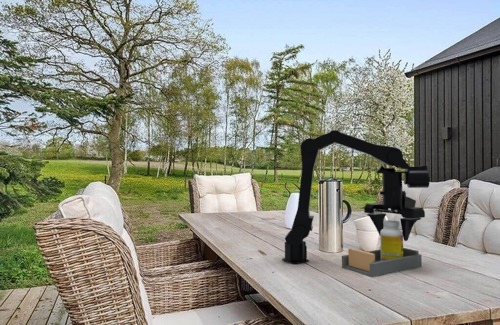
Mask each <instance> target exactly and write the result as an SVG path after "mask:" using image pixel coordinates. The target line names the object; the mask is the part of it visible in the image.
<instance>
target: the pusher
mask: <svg viewBox="0 0 500 325" xmlns="http://www.w3.org/2000/svg"><path fill="white" fill-rule="evenodd" d="M347 253H348V254H347V255H348V257H349V266H352V267H356V268H359V269H362V270H366V271H369V272H370V263H374V262H375V254H373V253H369V252H367V251H364V250H360V249H356V248H352V247H350V248H348V252H347Z"/></svg>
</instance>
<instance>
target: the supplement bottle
mask: <svg viewBox="0 0 500 325" xmlns="http://www.w3.org/2000/svg"><path fill="white" fill-rule="evenodd" d="M383 225H384V229H382V230H381V232H380V235H379V238H380V239H379V240H380V241H379V242H380V245H379V246H380V253H381V261H385V260H390V259H396V258H401V257H403V248H404V238H403V233H402V229H400V227H401V223H400V220H399V221H397V220H390V219H389V220H384V221H383Z"/></svg>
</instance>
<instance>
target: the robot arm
mask: <svg viewBox="0 0 500 325" xmlns="http://www.w3.org/2000/svg"><path fill="white" fill-rule="evenodd" d="M333 144H336V145H340V146H343V147H345V148H348V149H351V150H354V151H357V152H359V153H362V154H366V155H368V156H370V157H372V158H373V159H375V160H377V161H378V162H380V163H382V164H384V165H386V166H388V167H384V165H381V166H379V168H378V169H377V170H376V171H375V173H376V174H382V191H381V190H380V191H379V195H380V196H381V195H382V203H377V202H376V203H374V202H373V203H366V204H365V206H364V207H363V208H364V211H363V212H364V213H365V214H366V215H367V216H368V217H369V218H370V220H371V221H372V223H373V225H374V227H375V229H376V231H377V233H378V234H379V236H380V232H381V230H382V229H384V225H383V221H385V217H386V216H387V213H388V214H395V215H400V216H401V217H402V218H399V219H400V220H399V221H400V227H401V231H402V233H403V242H407V241H409V238H410V235H411V232H412V230H413V227H414V225H415V223H416V222H418V221H420V220H421V219H422V218H425V217H426V214H425V209H424V208H423V207H417V206H416V202H417V200H416V199H413V198H411V197H409V196H407V192H406V191H405V190H403V184H404V185H405V186H407V188H408V189H409V188H410V189H413V188H414V189H415V188H416V189H418V188H419V189H421V188H422V189H423V188H424V189H427V188H429V187H430V183H431V182H430V180H431V179H430V178H431V177H430V175H429V171H428V165H418V166H417V165H415V166H414V165H413V166H410V164H409V163H408V162H407V161H406V160H405V159H404V154H403V152H402V150H401V149H400V148H398V147H395V146H388V145H383V144H376V143H372V142H370V141H366V140H365V139H364V140H363V139H361V138H358V137H356V136H352V135H350V134H347V133H344V132H341V131H340V130H337V129H332V130H330V131H329V132H327V133H325V134H321V135H320V136H317V137H314V138H312V137H311V138H306V139H304V140H303V141H302V142H301V144H300V157H301V158H300V160H301V173H300V174H301V176H300V182H299V192H298V193H299V194H298V201H297V210H296V213H295V216H294V218H293V222H292V224H291V225H292V226H291V230H290V231H289V232H288V233H287V234H286V235H285V237H284V240H285V242H284V257H283V258H281V260H282V261H284V262H287V263H290V264H293V265H294V264H301V263H306V262H307V263H308V262H310V259H307V258H308V252H307V251H308V250H307V249H308V247H307V243H306V241H305V240H304V239H306V238H307V237H309V235H310V232H312V231H313V229H314V227H313V221H314V218H315V216H314V215H311V214H310V204H311V196H312V189H313V188H312V187H313V176H314V168H315V166H316V162H317V159H318V155H319V152H320V151H321V150H323V149H325V148H327V147H329V146H331V145H333ZM396 168H397V169H398V170H397V171H396V170H395V169H396ZM400 170H401V171H400ZM402 170H403V171H402Z"/></svg>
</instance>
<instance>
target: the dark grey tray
mask: <svg viewBox="0 0 500 325" xmlns="http://www.w3.org/2000/svg"><path fill="white" fill-rule="evenodd" d="M366 252H369V253H373V254H375V262H374V263H370V272H369V271H366V270H362V269H359V268H356V267H352V266H349V257H348V254H343V255H341V269H345V270H348V271H351V272H355V273H358V274H361V275H364V276H367V277H371V278H374V277H375V278H376V277H380V276H385V275H389V274H394V273H399V272H402V271H403V272H404V271H407V270H409V271H410V270H412V269H417V268H421V267H423V266H422V264H423V263H422V262H423V261H422V260H423V259H422V254H421V253H420V254H419V250H417V249H413V248H407V247H403V257H401V258H396V259H390V260H385V261H381V253H380V249H375V250H370V251H369V250H368V251H366Z"/></svg>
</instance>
